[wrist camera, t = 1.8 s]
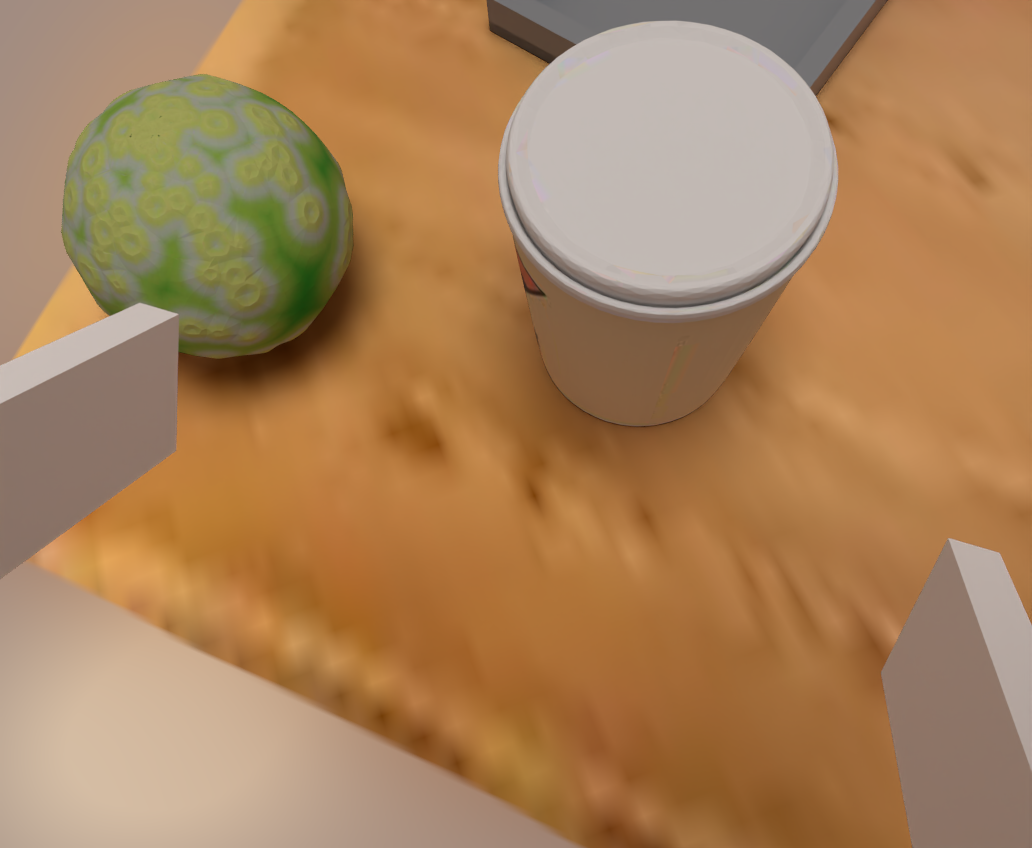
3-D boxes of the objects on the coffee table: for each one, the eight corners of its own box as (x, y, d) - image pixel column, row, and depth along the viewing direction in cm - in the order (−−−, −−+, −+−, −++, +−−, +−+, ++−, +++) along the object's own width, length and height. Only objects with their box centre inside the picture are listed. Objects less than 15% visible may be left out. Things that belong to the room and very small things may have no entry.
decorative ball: (333, 423, 35) (245, 306, 25) (103, 366, 36) (-61, 235, 27) (408, 211, 38) (356, 36, 28) (194, 166, 39) (76, -16, 30)
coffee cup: (567, 206, 37) (568, -24, 26) (785, 274, 36) (886, 60, 24) (482, 400, 35) (441, 236, 23) (713, 483, 33) (789, 351, 22)
